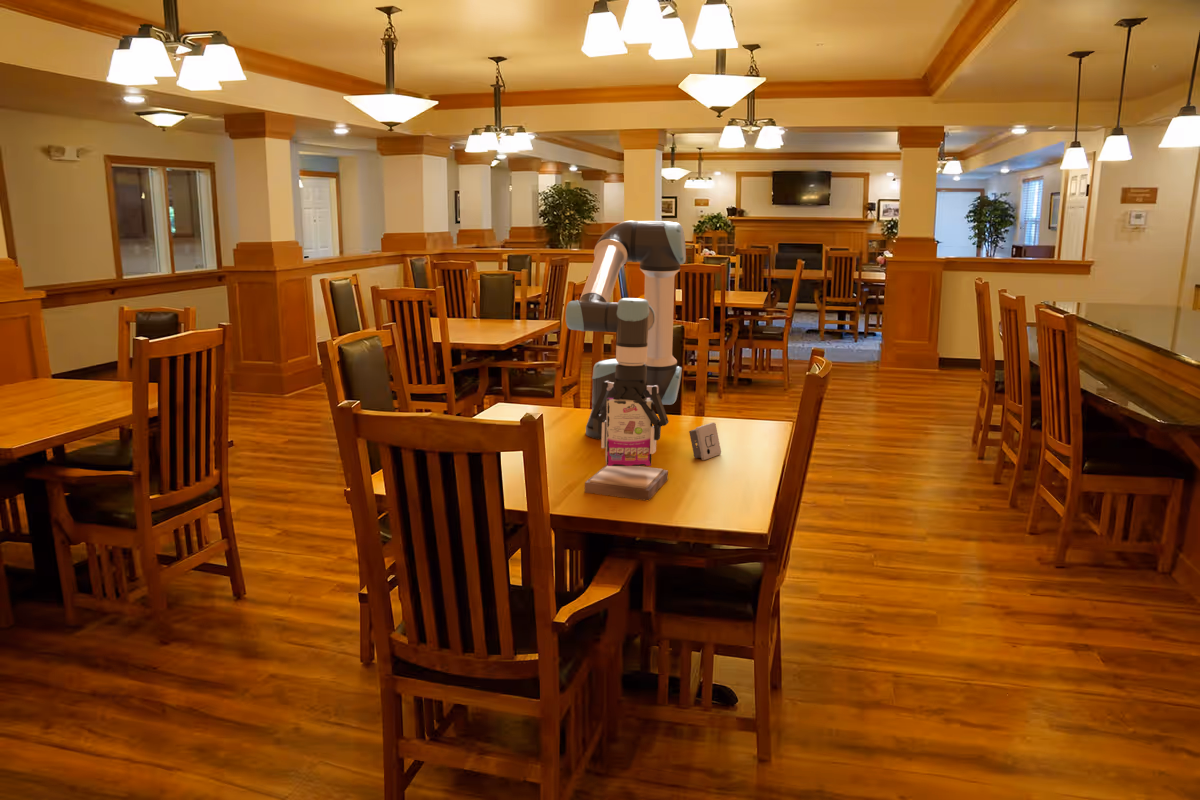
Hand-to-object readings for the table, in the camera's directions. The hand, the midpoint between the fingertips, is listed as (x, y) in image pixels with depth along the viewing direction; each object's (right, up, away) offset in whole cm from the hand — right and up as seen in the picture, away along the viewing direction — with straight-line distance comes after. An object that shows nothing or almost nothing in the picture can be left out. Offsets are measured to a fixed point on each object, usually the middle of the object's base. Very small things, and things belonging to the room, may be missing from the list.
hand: (628, 449), depth 210 cm
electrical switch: (+22, -4, +31) cm, 38 cm away
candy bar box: (0, -4, +1) cm, 4 cm away
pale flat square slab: (0, -9, +2) cm, 9 cm away
